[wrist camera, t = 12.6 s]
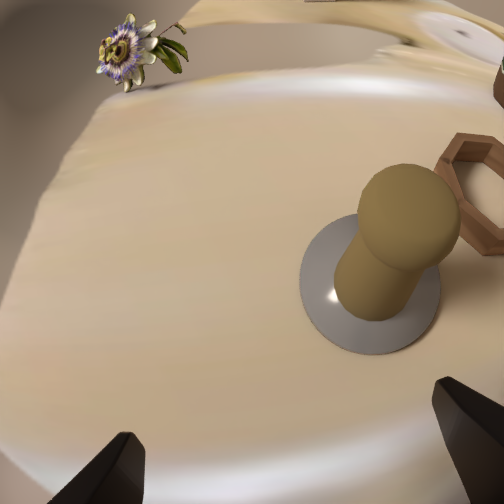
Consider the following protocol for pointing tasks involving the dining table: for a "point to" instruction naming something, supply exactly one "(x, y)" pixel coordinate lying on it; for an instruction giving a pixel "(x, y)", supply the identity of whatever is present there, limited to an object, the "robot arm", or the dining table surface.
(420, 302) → the slate coaster
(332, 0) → the coffee box
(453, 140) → the guard ring
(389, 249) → the cork
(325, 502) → the dining table surface
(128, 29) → the passion flower
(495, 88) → the beer bottle
